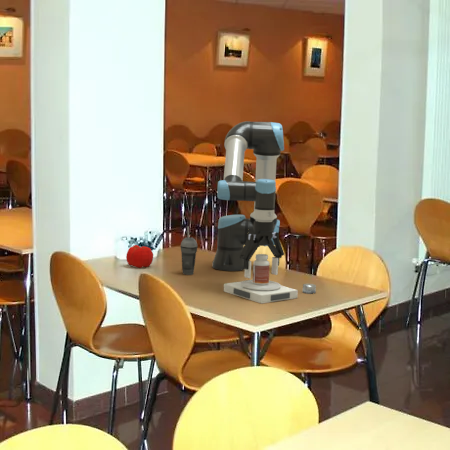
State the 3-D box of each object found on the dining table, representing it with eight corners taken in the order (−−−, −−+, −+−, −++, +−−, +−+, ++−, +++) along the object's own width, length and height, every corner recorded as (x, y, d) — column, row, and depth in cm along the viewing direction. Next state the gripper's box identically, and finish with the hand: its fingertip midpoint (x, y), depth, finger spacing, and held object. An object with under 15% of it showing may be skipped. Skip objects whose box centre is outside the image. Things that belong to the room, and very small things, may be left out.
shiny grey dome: (299, 291, 321) (300, 284, 321) (309, 290, 324) (309, 283, 324) (309, 294, 317) (309, 287, 317) (318, 293, 320) (318, 285, 320)
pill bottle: (272, 284, 312) (273, 255, 310) (258, 286, 308) (260, 257, 306) (262, 281, 317) (263, 253, 315) (249, 282, 313) (250, 254, 312)
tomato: (157, 267, 355) (158, 247, 354) (132, 270, 349) (133, 249, 347) (145, 263, 364) (146, 243, 363) (121, 265, 357) (121, 244, 356)
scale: (222, 291, 315) (223, 280, 315) (259, 286, 327) (259, 276, 326) (261, 303, 298) (261, 292, 297) (298, 298, 310) (298, 287, 309)
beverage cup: (186, 276, 340) (188, 228, 338) (175, 273, 346) (177, 226, 343) (200, 274, 345) (202, 227, 342) (189, 271, 351) (191, 224, 348)
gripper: (244, 223, 298) (242, 281, 301) (295, 220, 314) (292, 274, 317) (231, 220, 304) (229, 277, 307) (281, 217, 319) (278, 271, 322)
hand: (261, 276), depth 312 cm, fingers open, 13 cm apart
